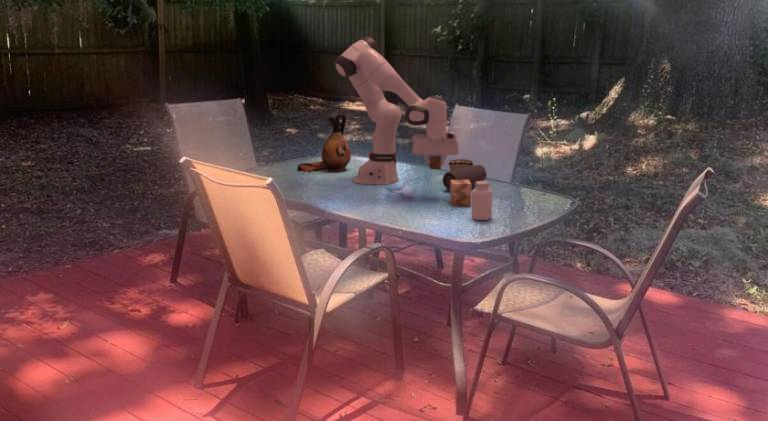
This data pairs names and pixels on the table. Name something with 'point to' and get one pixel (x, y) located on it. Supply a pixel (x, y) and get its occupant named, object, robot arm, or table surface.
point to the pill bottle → (481, 201)
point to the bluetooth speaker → (465, 175)
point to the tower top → (460, 187)
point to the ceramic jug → (336, 146)
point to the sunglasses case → (312, 166)
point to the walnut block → (435, 162)
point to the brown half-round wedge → (459, 163)
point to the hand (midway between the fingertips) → (435, 164)
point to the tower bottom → (461, 200)
